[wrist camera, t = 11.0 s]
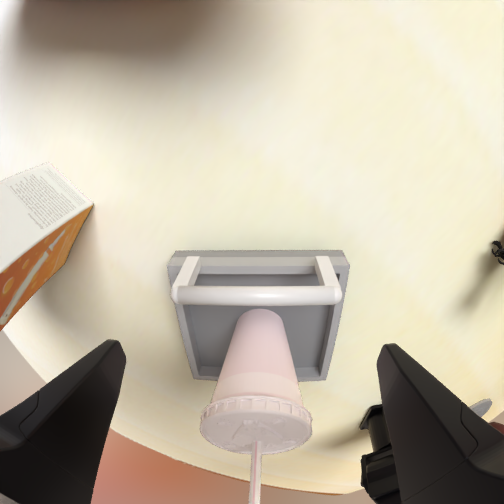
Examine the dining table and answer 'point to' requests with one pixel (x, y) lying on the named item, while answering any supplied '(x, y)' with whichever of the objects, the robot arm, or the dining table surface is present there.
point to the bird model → (503, 252)
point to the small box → (35, 231)
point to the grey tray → (259, 302)
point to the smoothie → (257, 396)
